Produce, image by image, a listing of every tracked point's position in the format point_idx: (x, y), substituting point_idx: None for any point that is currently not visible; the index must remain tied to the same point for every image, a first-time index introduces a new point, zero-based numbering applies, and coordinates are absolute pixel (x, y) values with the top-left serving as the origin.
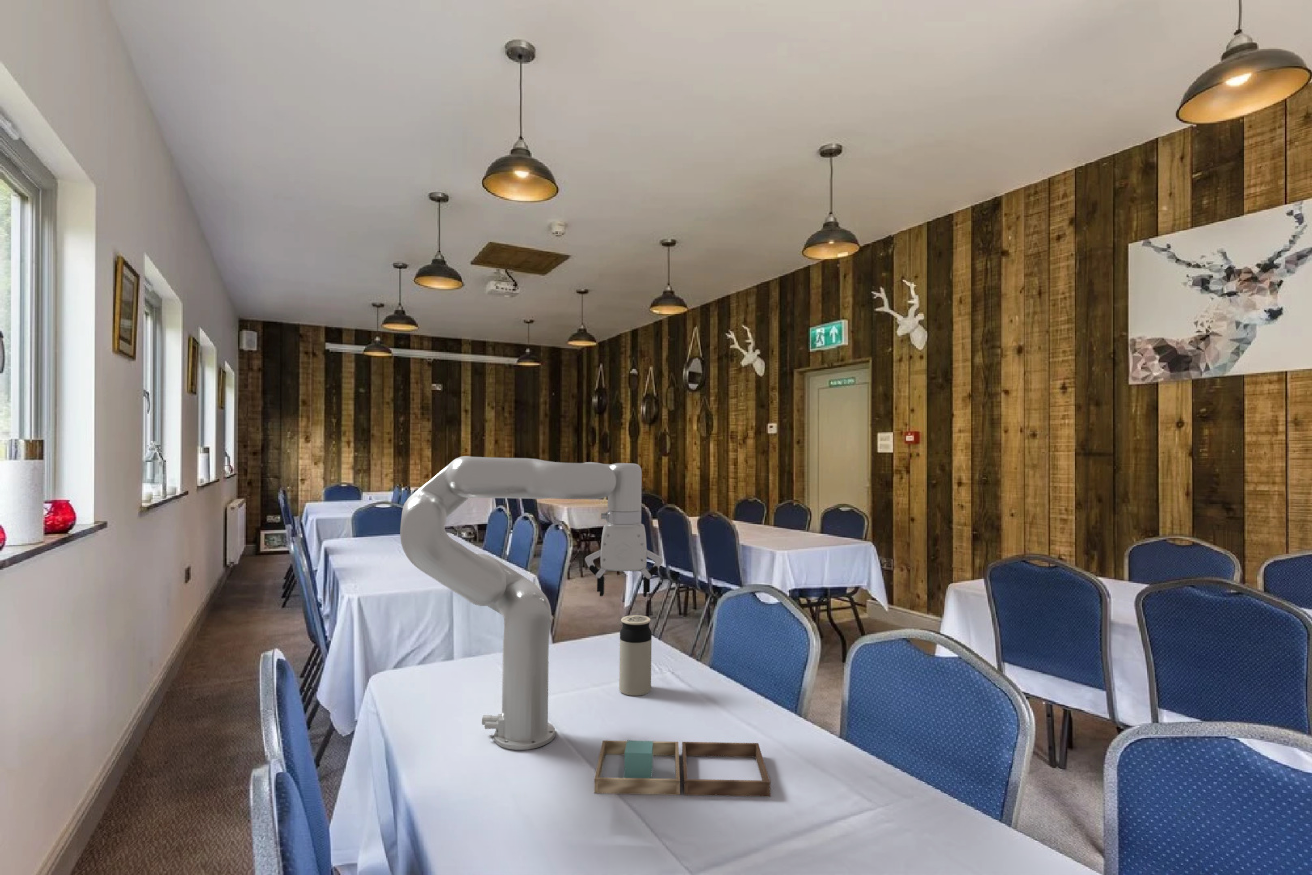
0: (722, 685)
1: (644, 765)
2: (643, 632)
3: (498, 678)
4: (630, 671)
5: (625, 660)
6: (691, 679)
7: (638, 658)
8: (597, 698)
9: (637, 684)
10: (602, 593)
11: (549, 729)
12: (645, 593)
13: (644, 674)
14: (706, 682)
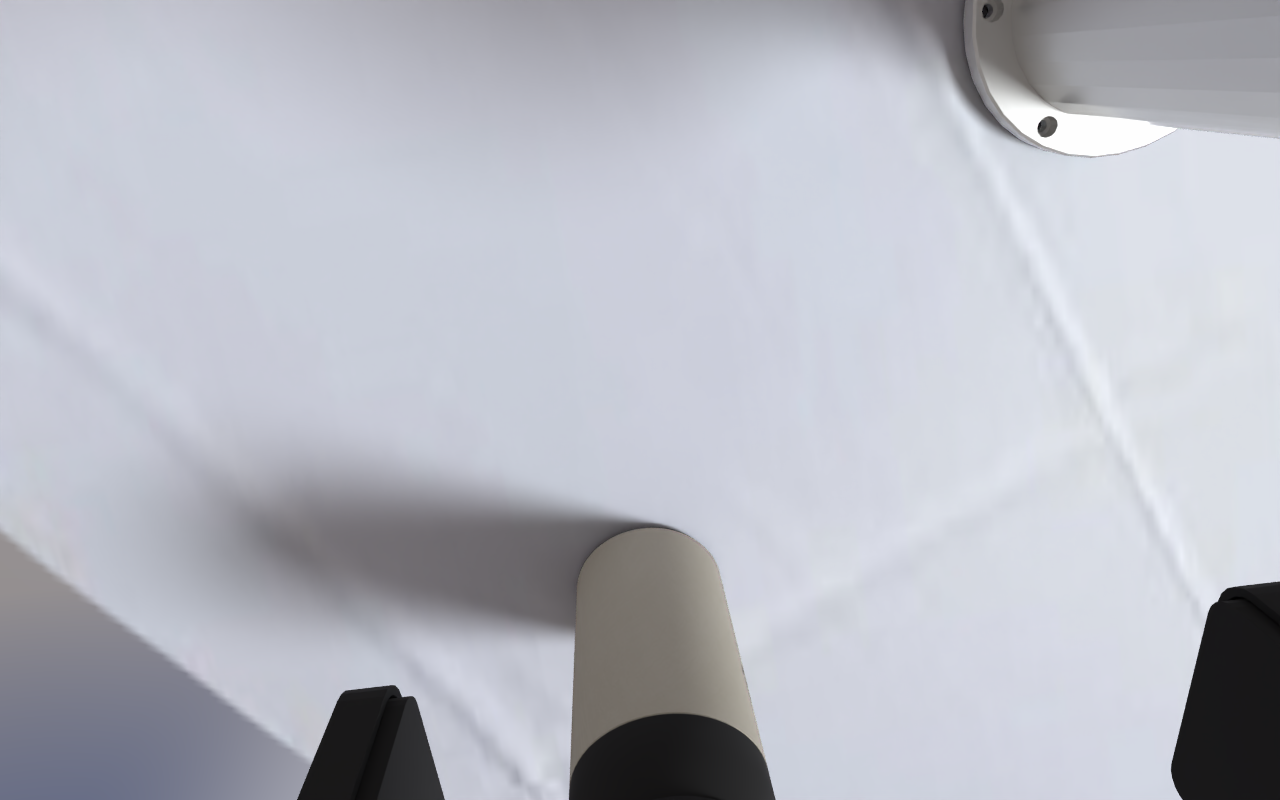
0: (272, 693)
1: None
2: (611, 792)
3: None
4: (671, 596)
5: (706, 639)
6: None
7: (632, 648)
8: (806, 481)
9: (630, 560)
10: (1263, 625)
11: (1002, 40)
12: (344, 734)
13: (599, 603)
14: None
